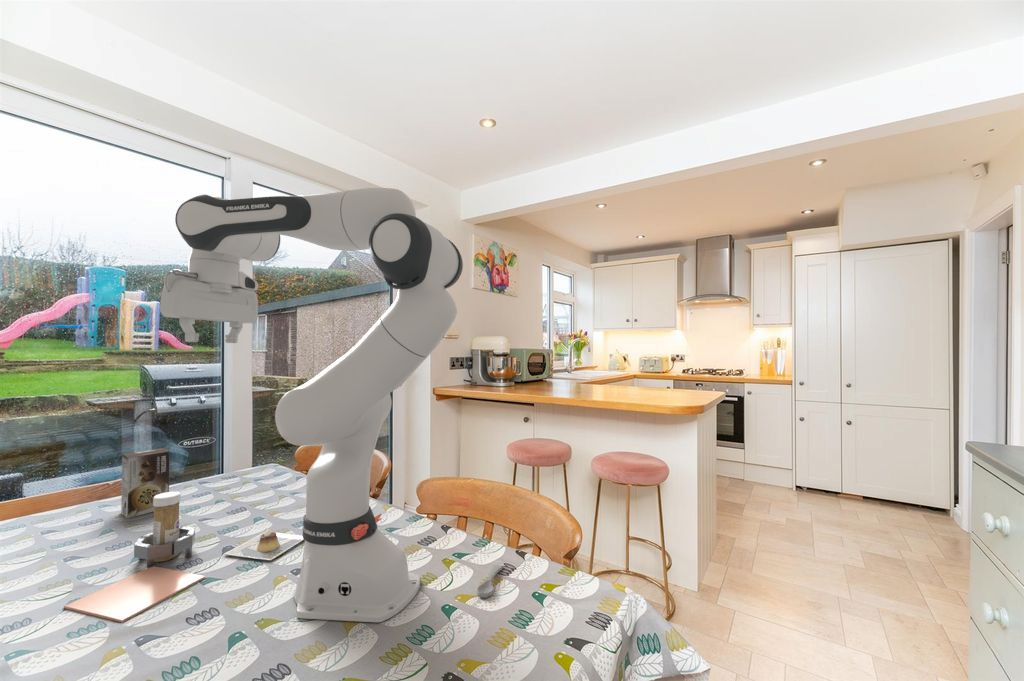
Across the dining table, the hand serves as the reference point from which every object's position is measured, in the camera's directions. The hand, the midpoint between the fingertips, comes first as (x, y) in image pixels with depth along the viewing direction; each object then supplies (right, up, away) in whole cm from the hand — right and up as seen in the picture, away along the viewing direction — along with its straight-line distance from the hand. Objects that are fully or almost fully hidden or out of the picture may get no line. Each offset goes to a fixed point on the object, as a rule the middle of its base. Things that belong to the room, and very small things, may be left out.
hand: (212, 342), depth 89 cm
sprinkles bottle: (-11, -46, +2) cm, 48 cm away
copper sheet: (-6, -46, -11) cm, 47 cm away
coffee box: (-38, -47, +28) cm, 67 cm away
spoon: (+59, -47, -7) cm, 76 cm away
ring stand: (-11, -46, +2) cm, 48 cm away
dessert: (+8, -47, +7) cm, 48 cm away
